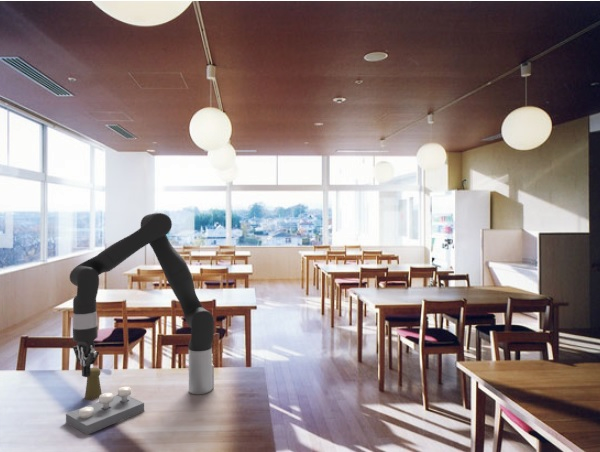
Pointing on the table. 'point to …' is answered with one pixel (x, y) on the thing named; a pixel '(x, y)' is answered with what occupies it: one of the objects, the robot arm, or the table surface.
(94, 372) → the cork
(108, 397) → the knob middle
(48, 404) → the table surface
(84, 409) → the knob
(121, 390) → the knob
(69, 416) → the control board
